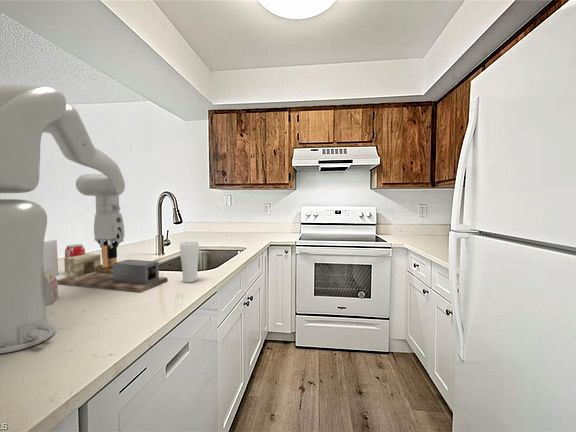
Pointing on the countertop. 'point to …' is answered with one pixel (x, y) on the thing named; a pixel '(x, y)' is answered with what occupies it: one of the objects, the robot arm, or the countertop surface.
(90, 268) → the ash socket block
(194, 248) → the drinking glass
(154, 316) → the countertop surface
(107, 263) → the brass tube
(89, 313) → the countertop surface
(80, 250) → the soda can
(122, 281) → the galvanized steel sleeve
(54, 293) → the white angular box
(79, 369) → the countertop surface
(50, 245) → the supplement box
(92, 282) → the walnut base board
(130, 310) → the countertop surface
